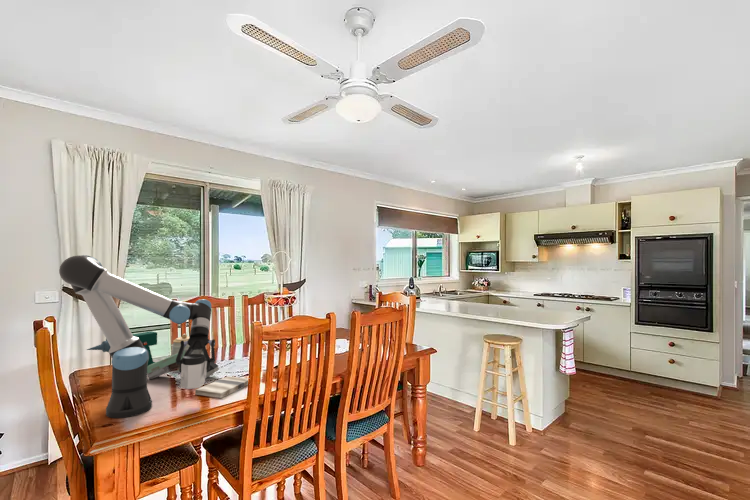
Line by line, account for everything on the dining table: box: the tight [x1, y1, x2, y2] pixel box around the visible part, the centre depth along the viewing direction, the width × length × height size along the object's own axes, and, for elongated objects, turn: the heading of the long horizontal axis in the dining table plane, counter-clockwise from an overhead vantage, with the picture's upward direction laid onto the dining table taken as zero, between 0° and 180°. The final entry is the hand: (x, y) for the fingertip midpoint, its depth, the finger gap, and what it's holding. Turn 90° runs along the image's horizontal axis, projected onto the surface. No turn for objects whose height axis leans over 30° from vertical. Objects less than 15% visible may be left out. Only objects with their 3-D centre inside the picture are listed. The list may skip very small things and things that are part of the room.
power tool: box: [86, 330, 158, 366], centre depth 189 cm, size 32×7×20 cm, turn 148°
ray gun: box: [147, 349, 220, 380], centre depth 186 cm, size 7×32×20 cm, turn 90°
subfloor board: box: [194, 375, 249, 399], centre depth 170 cm, size 20×14×2 cm
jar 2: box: [180, 354, 206, 390], centre depth 152 cm, size 9×8×12 cm
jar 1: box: [170, 333, 190, 369], centre depth 208 cm, size 13×13×18 cm
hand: (193, 377), depth 149 cm, fingers closed on jar 2, 7 cm apart
